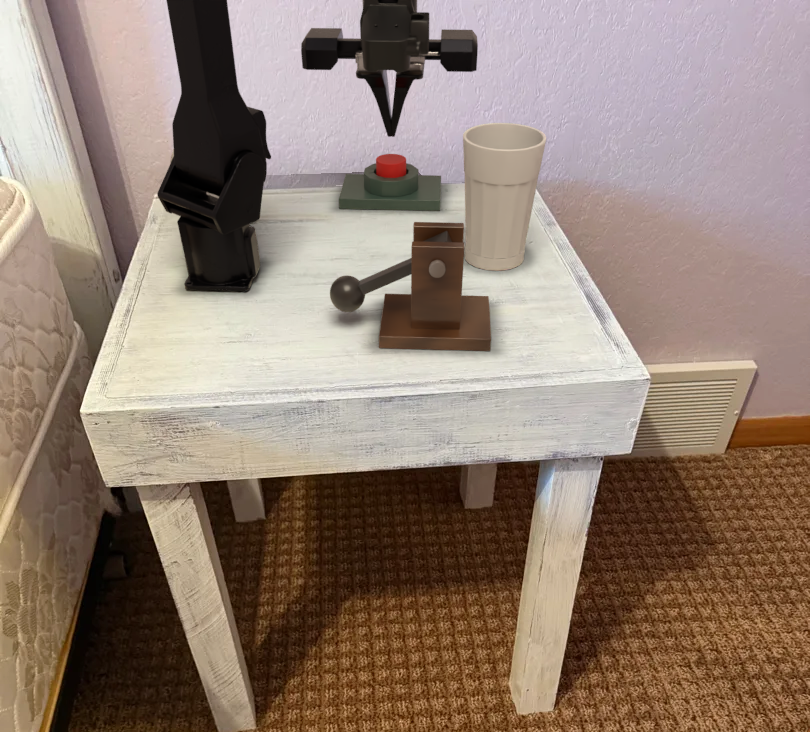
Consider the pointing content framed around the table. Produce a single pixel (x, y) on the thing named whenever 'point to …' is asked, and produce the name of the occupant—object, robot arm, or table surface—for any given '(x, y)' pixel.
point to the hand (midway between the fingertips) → (391, 135)
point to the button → (391, 166)
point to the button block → (391, 191)
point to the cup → (499, 191)
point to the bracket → (436, 299)
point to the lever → (371, 282)
